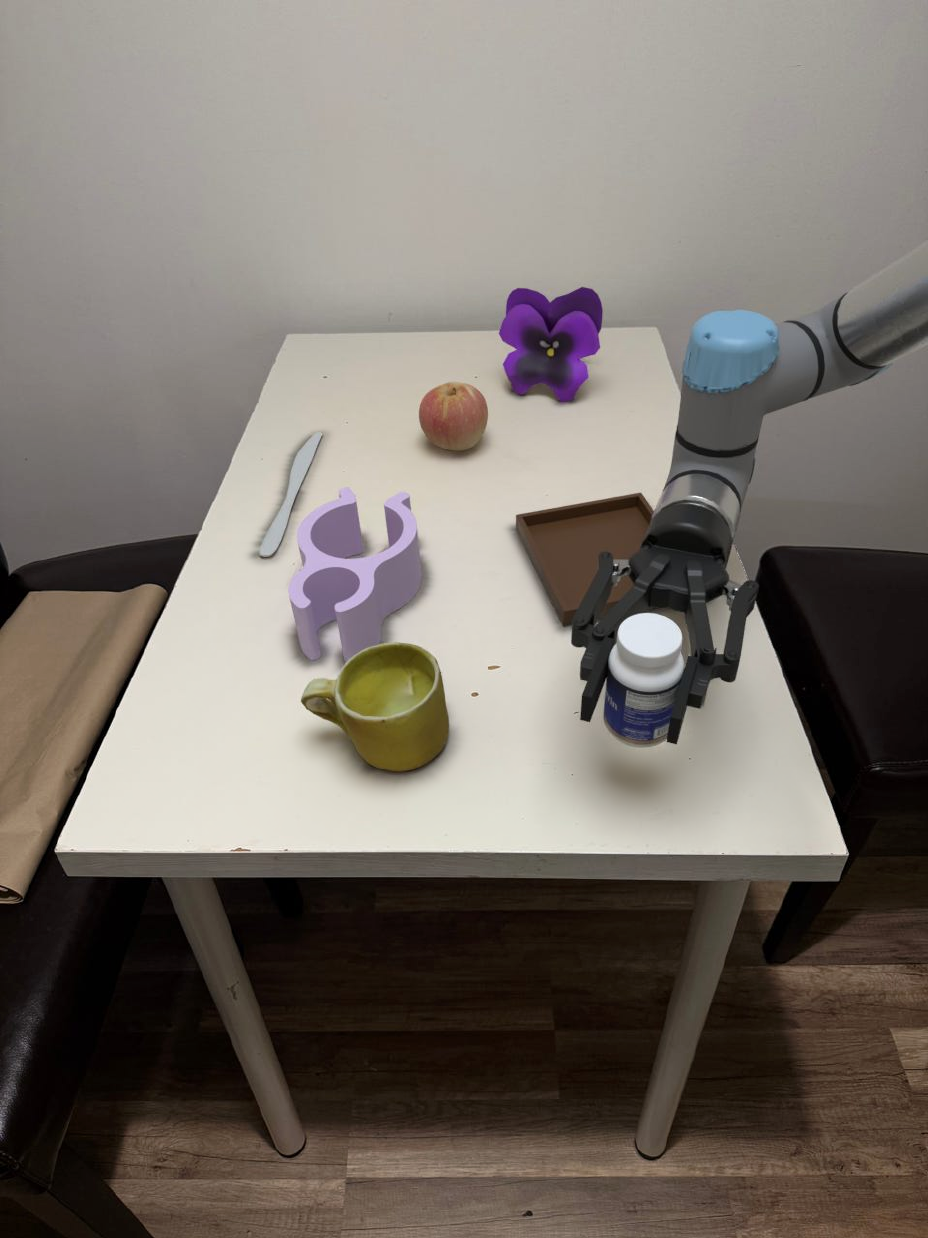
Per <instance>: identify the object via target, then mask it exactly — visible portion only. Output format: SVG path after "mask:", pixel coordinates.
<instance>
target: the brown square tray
mask: <svg viewBox="0 0 928 1238" xmlns="http://www.w3.org/2000/svg"><path fill="white" fill-rule="evenodd" d="M654 510H655V509H654V508H653V507H652V506H651V505H650V503H649V501H648V499H646V497H645V496H644V494H643V493H642V492H636V493H630V494H625V495H619V496H614V497H608V498H603V499H597V500H592V501H586V502H579V503H574V504H568V505H562V506H558V507H552V508H546V509H541V510H535V511H530V512H524V513H519V514H515V531H516V532H517V535H518V537H519V539H520V542H521V543H522V545H523V547H524V549H525V551H526V554H527V555H528V557H529V559H530V561H531V564H532V565H533V568H534V569H535V572H536V573H537V576H538V577H539V580H540V582H541V584H542V586H543V588H544V590H545V592H546V594H547V597H548V598H549V601H550V603H551V604H552V607H553V608H554V611H555V613H556V615H557V617H558V620H559V621H560V623H561V625H562V627H568V626H572V620H573V617H574V615H575V613H576V611H577V610H578V608H579V606H580V604H581V602H582V600H583V598H584V596H585V594H586V592H587V590H588V589H589V587H590V585H591V583H592V581H593V579H594V577H595V575H596V573H597V570H598V557H599V554H600V553H601V552H605V551H606V552H610V553H611V554H612V555H613V559H617V560H629V558H630V557H631V556H632V555H633V554H635V553H636V552H638V551H639V549H640V546H641V544H642V541H643V539H644V536H645V534H646V531H647V529H648V526H649V524H650V522H651V518H652V515H653V513H654ZM633 585H634V584H633V582H632V581H631V579H630V578H629V576H628V575H625V576H623V577H622V578H621V580H620V581H619V582H617V586H615V587H613V586H612V589H611V594H610V596H609V598H608V600H607V602H606V604H605V606H604V608H603V610H602V612H601V614H600V616H599V618H598V620H599V621H600V620H601V619H602V618H603V617H604V616H605V615H606V614H607V613H608V612H609V611H610V610H611V609H612V608H613V607H614V606H615V605H616V604H617V603H618V602H619V601H620V600H621V598H622V597H623V596H624V595H625V594H626V593H627V592H628V591H629V590H630V589H631V588H632V587H633ZM658 608H660V607H656V606H653V607H652V609H651V610H653V609H658ZM598 620H597V621H598Z"/></svg>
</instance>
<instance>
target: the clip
mask: <svg viewBox="0 0 928 1238" xmlns="http://www.w3.org/2000/svg"><path fill="white" fill-rule="evenodd" d="M338 497H339V498H337V499H334V500H331V501H328V502H326V503H324V504H322V505H320V506H318V507H316V508H315V509H313V510H312V511H311V512H309V513H308V514H307V515H306V516H305V517H304V518H303V519H302V521H301V522H300V525H299V526H298V528H297V531H296V541H297V545H298V550H299V555H300V556H299V557H300V560H301V565H302V568H301V569H300V570H299V571H297V572H296V573H295V575H294V576H293V577H292V578H291V579H290V582H289V584H288V588H287V592H288V593H287V594H288V597H289V602H290V606H291V610H292V616H293V619H294V624H295V628H296V633H297V636H298V641H299V645H300V649H301V651H302V653H303V655H304V656H306V658H308V659H309V660H311V661H317V660H318V659H320V657H322V650H321V645H320V640H319V635H318V631H319V630H320V628H321V627H323V626H324V625H326V624H329V623H331V622H333V621H336V623H337V627H338V633H339V639H340V643H341V644H340V645H341V649H342V655H343V660H344V664H345V663H346V662H347V661H348V660H349V659H350V658H351V657H353V656H354V655H355V654H357V653H359V652H360V651H362V650H363V649H366V648H368V647H371V646H375V645H379V644H381V641H382V637H383V631H382V624H383V623H384V620H385V619H386V618H387V617H388V616H389V615H391V614H392V613H393V612H396V611H397V610H399V609H402V608H403V607H405V606H406V605H407V604H408V603H410V602H411V601H412V600H413V599H414V598H415V597H416V595H417V593H418V592H419V590H420V588H421V585H422V581H423V573H422V563H421V553H420V543H419V542H420V541H419V533H418V522H417V519H416V516H415V514H414V513H413V512H412V506H411V495H410V493H409V492H407V491H401V492H398V493H396V494H394V495H392V496H390V497H389V498H387V499H386V501H384V503H383V508H384V519H385V524H386V525H385V526H386V534H387V540H388V541H387V542H388V548H387V549H385V550H383V551H381V552H379V553H376V554H373V555H370V556H365V557H359V558H349V557H352V556H357V555H361V554H363V553H364V544H363V537H362V536H363V535H362V529H361V523H360V516H359V509H358V503H357V502H358V501H357V496H356V494H355V493H354V491H353V490H352V488H351V487H342V488H340V489H339V490H338Z"/></svg>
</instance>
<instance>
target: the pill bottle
mask: <svg viewBox="0 0 928 1238" xmlns="http://www.w3.org/2000/svg"><path fill="white" fill-rule="evenodd" d="M682 647H683V634H682V631H681V629H680V627H679V625H677V623H676V622H675V621H673V620H672V619H670V618H668V617H667V616H664V615H663V614H662V615H661V614H658V613H654V612H648V613H641V614H636V615H633V616H631V617H629V618H627V619H626V620H624V621H623V622H622V623H621V625H620V627H619V629H618V634H617V643H616V644H615V645H614V647H613V648H612V650H611V652H610V655H609V659H608V668H607V678H606V681H605V692H604V693H605V694H604V703H603V714H602V715H603V716H602V717H603V724H604V726H605V729H606V730H607V732H608V733H609V735H610V736H611V737H613V738H614V740H616V741H618V742H619V743H621V744H623V745H626V746H628V747H633V748H638V749H644V748H645V749H646V748H652V747H657V746H659V745H661V744H663V743H664V742H666V741H667V735H668V729H669V723H670V717H671V713H672V710H673V707H674V703H675V700H676V696H677V693H678V689H679V686H680V682H681V679H682V675H683V672H684V668H685V659H684V656H683V654H682Z"/></svg>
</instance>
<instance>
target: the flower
mask: <svg viewBox="0 0 928 1238" xmlns="http://www.w3.org/2000/svg"><path fill="white" fill-rule="evenodd" d="M603 310H604V309H603V304H602V301H601V298H600V296H599V294H598V293H597V292H596V291H595V290H594V289H593V288H589V287H585V286H580V287H579V288H577V289H574V290H572V291H570V292H569V293H566V294H563V295H559V296H556V297H555V298H554V299H552V300H551V301H550V300H549V299H548V298H547V297H546V295H544V294H543V293H541V292H539V291H537V290H533V289H530V288H527V287H517V288H515V289H513V290H512V291H511V292H510V293H509V295H508V297H507V300H506V305H505V316H504V318H503V319H502V321H501V325H500V327H499V332H498V335H499V337H500V339H501V341H502V342H503V343H505V344H507V345H508V346H510V347H512V348H513V349H515V350H513V351H511V352H508V353H507V356H506V357H505V359H504V362H503V363H502V366H503V369H504V372H505V375H506V377H507V379H508V381H509V382H510V385H511V388H512V391H513V392H514V393H516V394H517V395H519V396H522V395H524V394H525V393H526V392H527V391H528V390H530V389H531V388H532V387H533V386H536V385H541V384H543V385H545V386H546V387H549V388H550V389H551V391H552V392H553V393H554V395H555V397H556V398H557V399H558V401H559V402H562V403H566V402H569V401H570V402H571V401H573V400H574V398H575V396H576V395H577V393H578V391H579V388H580V387H581V386H582V385H584V383H585V382H586V381H587V380H588V379H589V369H588V364H587V363H585V362H584V361H583V360H582V359H583V358H587V357H591V356H595V355H596V354H597V353H598V351H600V349H601V344H600V336H599V335H600V332H601V330H602V326H603V325H602V324H603Z"/></svg>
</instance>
